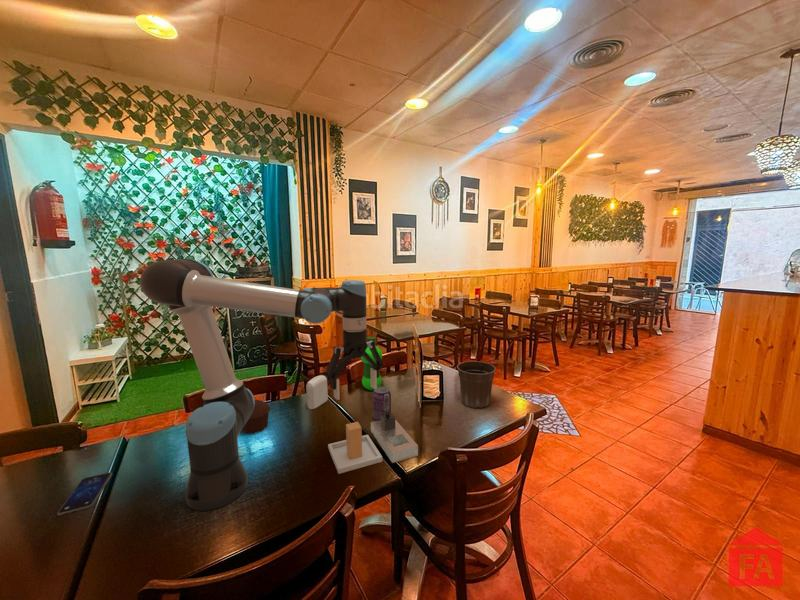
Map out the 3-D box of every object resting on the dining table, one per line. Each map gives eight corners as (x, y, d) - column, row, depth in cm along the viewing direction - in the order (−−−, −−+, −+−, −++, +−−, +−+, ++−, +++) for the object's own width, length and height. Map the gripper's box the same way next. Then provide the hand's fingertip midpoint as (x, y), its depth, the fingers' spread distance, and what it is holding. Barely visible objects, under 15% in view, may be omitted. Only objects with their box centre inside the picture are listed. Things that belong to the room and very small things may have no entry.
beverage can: (392, 414, 134) (391, 386, 132) (389, 423, 127) (389, 393, 125) (374, 413, 135) (374, 385, 133) (371, 422, 128) (371, 393, 126)
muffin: (231, 432, 122) (229, 406, 120) (253, 417, 132) (251, 394, 131) (257, 437, 118) (255, 411, 116) (278, 422, 128) (276, 398, 127)
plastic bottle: (374, 382, 167) (373, 334, 163) (386, 388, 159) (386, 338, 155) (357, 387, 160) (356, 337, 157) (369, 394, 152) (368, 342, 149)
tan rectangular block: (350, 459, 104) (349, 430, 103) (346, 452, 108) (345, 424, 106) (362, 456, 106) (361, 427, 104) (358, 449, 109) (357, 421, 108)
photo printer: (313, 410, 138) (312, 382, 136) (305, 408, 140) (304, 380, 138) (329, 400, 147) (328, 373, 145) (321, 398, 149) (320, 372, 147)
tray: (338, 475, 98) (338, 469, 98) (328, 449, 110) (328, 444, 110) (382, 462, 103) (382, 456, 103) (368, 439, 116) (367, 434, 116)
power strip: (392, 464, 103) (392, 433, 101) (370, 432, 121) (370, 405, 119) (417, 456, 106) (418, 426, 105) (393, 427, 124) (393, 401, 123)
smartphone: (54, 515, 83) (82, 478, 96) (55, 518, 83) (82, 481, 97) (92, 505, 86) (113, 470, 99) (92, 508, 86) (114, 473, 100)
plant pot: (449, 403, 143) (450, 368, 141) (466, 391, 156) (467, 358, 153) (485, 415, 133) (486, 376, 131) (499, 400, 146) (501, 365, 144)
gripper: (322, 337, 94) (324, 407, 98) (393, 326, 109) (393, 387, 112) (312, 332, 100) (314, 398, 104) (381, 322, 115) (381, 380, 118)
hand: (355, 392), depth 108 cm, fingers open, 13 cm apart
